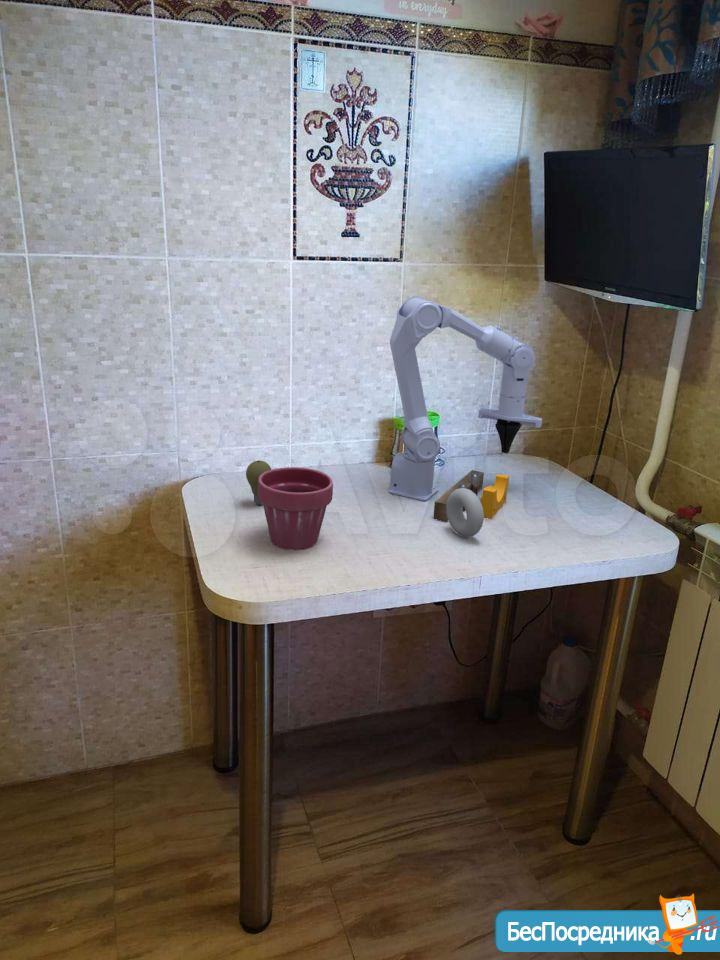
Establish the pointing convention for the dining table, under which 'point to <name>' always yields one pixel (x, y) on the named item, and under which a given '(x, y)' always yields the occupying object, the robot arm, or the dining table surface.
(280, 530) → the plant pot
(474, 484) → the bench fence
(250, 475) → the light bulb
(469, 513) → the donut
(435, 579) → the dining table surface
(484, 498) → the pipe clamp
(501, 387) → the robot arm
